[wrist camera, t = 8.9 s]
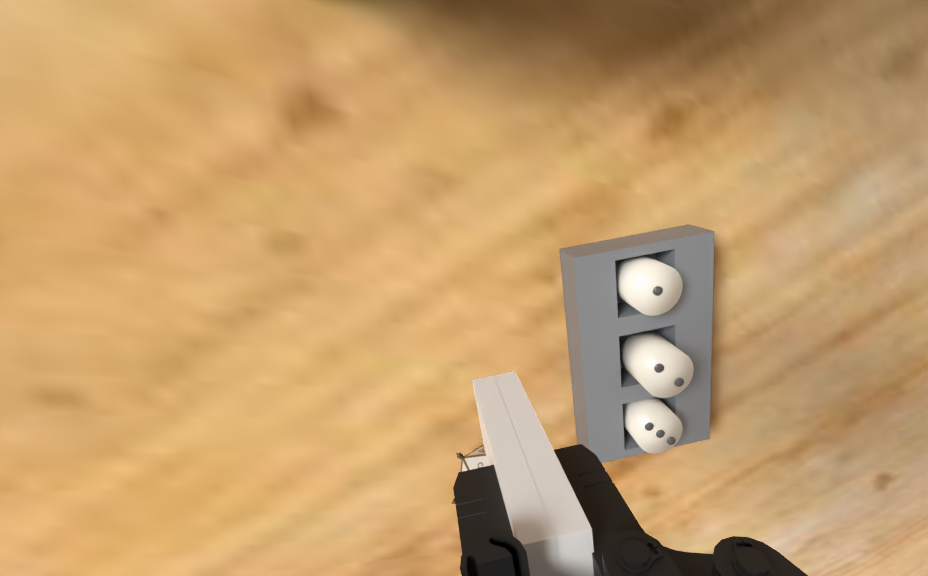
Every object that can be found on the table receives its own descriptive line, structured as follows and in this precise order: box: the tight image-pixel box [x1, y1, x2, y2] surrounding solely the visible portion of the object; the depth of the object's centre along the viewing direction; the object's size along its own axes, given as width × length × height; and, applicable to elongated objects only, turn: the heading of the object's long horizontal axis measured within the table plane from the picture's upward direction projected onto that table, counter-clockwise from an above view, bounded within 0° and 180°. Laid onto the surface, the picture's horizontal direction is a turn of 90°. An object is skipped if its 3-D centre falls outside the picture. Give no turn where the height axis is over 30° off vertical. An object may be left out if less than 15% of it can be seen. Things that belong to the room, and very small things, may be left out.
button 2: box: [620, 330, 694, 398], centre depth 44 cm, size 5×5×5 cm
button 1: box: [615, 255, 683, 316], centre depth 43 cm, size 5×5×5 cm
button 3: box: [622, 397, 683, 454], centre depth 48 cm, size 5×5×5 cm
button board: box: [560, 225, 714, 463], centre depth 47 cm, size 24×14×4 cm, turn 9°
